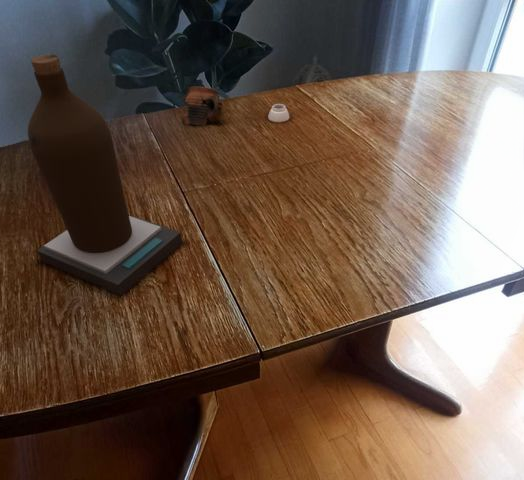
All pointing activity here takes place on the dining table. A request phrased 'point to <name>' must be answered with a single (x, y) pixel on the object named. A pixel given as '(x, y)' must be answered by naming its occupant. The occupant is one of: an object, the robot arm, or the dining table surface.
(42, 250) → the kitchen scale
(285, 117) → the lidless jar
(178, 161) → the dining table surface
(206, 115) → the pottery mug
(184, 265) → the dining table surface
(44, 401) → the dining table surface
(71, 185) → the olive oil
